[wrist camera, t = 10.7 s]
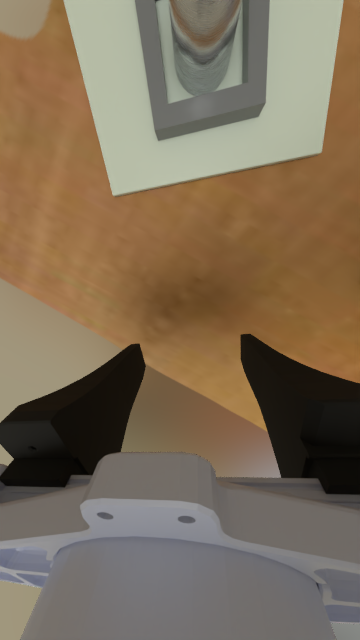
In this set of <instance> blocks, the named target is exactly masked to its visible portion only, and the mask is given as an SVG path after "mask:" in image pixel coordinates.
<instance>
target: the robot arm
mask: <svg viewBox="0 0 360 640" xmlns="http://www.w3.org/2000/svg"><path fill="white" fill-rule="evenodd" d="M241 362H242V365H243V369H244V372H245V374H246V377H247V379H248V381H249V383H250V386H251V388H252V390H253V392H254V395H255V397H256V399H257V401H258V404H259V406H260V409H261V412H262V415H263V418H264V421H265V424H266V427H267V430H268V434H269V437H270V440H271V443H272V447H273V450H274V453H275V456H276V460H277V463H278V467H279V470H280V474H281V478H248V477H245V478H244V477H216V474H215V470H214V468H213V467H212V465H211V463H210V462H209V461H208V460H206V459H205V458H203V457H201V456H199V455H197V454H192V453H186V452H121V448H122V443H123V439H124V435H125V430H126V426H127V423H128V419H129V415H130V412H131V409H132V406H133V403H134V401H135V398H136V395H137V393H138V390H139V388H140V385H141V382H142V379H143V376H144V371H145V367H146V365H145V362H144V358H143V355H142V351H141V348H140V344H131V345H129V346H128V347H127V348H125V349H124V350H123V351H121V352H120V353H119V354H117V355H116V356H115V357H113V358H112V359H111V360H109V361H108V362H107V363H105V364H104V365H102V366H101V367H99V368H98V369H96V370H95V371H93V372H92V373H90V374H89V375H87V376H85V377H83V378H82V379H80V380H78V381H76V382H74V383H72V384H70V385H68V386H66V387H64V388H62V389H60V390H58V391H55V392H53V393H51V394H48V395H46V396H43V397H41V398H38V399H35V400H32V401H30V402H27V403H25V404H21V405H19V406H18V407H17V408H15V410H13V411H12V412H11V413H10V414H9V415H8V416H7V417H6V418H5V419H4V420H3V421H2V422H1V423H0V444H1V445H2V446H3V447H4V449H5V450H6V451H7V452H8V453H9V454H10V455H11V456H12V457H13V458H14V460H13V461H12V462H11V463H10V464H9V466H6V465H4V464H0V580H1V581H7V582H12V583H18V584H24V585H28V586H34V587H40V588H42V590H41V593H40V595H39V597H38V600H37V602H36V604H35V607H34V609H33V611H32V613H31V616H30V618H29V620H28V623H27V625H26V627H25V629H24V632H23V634H22V636H21V639H20V640H336V637H335V634H334V632H333V629H332V626H331V623H349V624H360V383H356V382H352V381H348V380H345V379H342V378H339V377H335V376H332V375H329V374H326V373H324V372H321V371H318V370H316V369H313V368H310V367H308V366H306V365H303V364H301V363H299V362H297V361H295V360H292V359H290V358H288V357H286V356H285V355H283V354H281V353H279V352H277V351H276V350H274V349H272V348H271V347H269V346H268V345H266V344H265V343H263V342H262V341H260V340H259V339H257V338H256V337H254V336H253V335H251V334H242V335H241Z"/></svg>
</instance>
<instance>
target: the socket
mask: <svg viewBox="0 0 360 640" xmlns="http://www.w3.org/2000/svg"><path fill="white" fill-rule="evenodd" d="M64 4H65V8H66V12H67V16H68V20H69V23H70V27H71V31H72V35H73V39H74V43H75V47H76V51H77V55H78V59H79V63H80V67H81V71H82V75H83V79H84V83H85V87H86V91H87V95H88V99H89V102H90V106H91V110H92V114H93V118H94V122H95V126H96V130H97V134H98V138H99V142H100V146H101V150H102V154H103V158H104V162H105V166H106V170H107V174H108V178H109V181H110V185H111V189H112V193H113V196H115V197H117V196H122V195H127V194H132V193H137V192H141V191H146V190H151V189H156V188H161V187H166V186H171V185H175V184H180V183H185V182H190V181H195V180H200V179H205V178H209V177H214V176H219V175H224V174H229V173H234V172H239V171H243V170H248V169H253V168H258V167H263V166H268V165H273V164H277V163H282V162H287V161H292V160H297V159H302V158H307V157H311V156H316V155H319V154H320V153H322V146H323V139H324V132H325V125H326V118H327V111H328V104H329V97H330V90H331V84H332V77H333V70H334V63H335V56H336V49H337V42H338V35H339V28H340V21H341V14H342V7H343V0H242V5H241V10H240V14H239V19H238V24H237V29H236V34H235V38H234V43H233V48H232V53H231V57H230V62H229V66H228V70H227V73H226V75H225V77H224V79H223V81H222V82H221V84H220V85H219V87H218V88H217V89H216V90H215V91H213V92H211V93H207V94H203V95H199V96H194V95H191V94H190V93H188V92H187V91H186V90H185V89H184V88H183V86H182V85H181V83H180V81H179V79H178V77H177V74H176V70H175V63H174V53H173V42H172V32H171V22H170V12H169V1H168V0H64Z"/></svg>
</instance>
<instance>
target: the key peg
mask: <svg viewBox="0 0 360 640" xmlns="http://www.w3.org/2000/svg"><path fill="white" fill-rule="evenodd" d="M168 1H169V12H170V22H171V32H172V42H173V53H174V63H175V70H176V74H177V77H178V79H179V81H180V83H181V85H182V86H183V88H184V89H185V90H186V91H187V92H188V93H190V94H191V95H194V96H199V95H203V94H207V93H211V92H213V91H215V90H216V89H217V88H218V87H219V85H220V84H221V82H222V81H223V79H224V77H225V75H226V73H227V70H228V66H229V62H230V57H231V53H232V48H233V43H234V38H235V34H236V29H237V24H238V19H239V14H240V10H241V5H242V0H168Z"/></svg>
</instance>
